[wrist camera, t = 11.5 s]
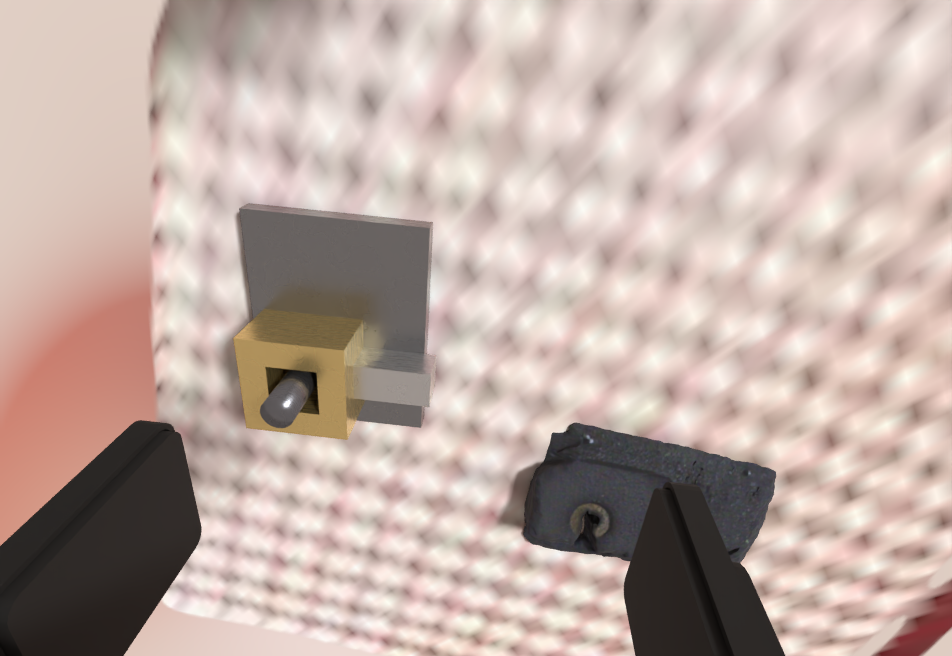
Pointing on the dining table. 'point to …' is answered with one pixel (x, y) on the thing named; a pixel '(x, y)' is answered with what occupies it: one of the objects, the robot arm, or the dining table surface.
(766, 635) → the robot arm
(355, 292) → the square hole fixture
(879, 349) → the dining table surface
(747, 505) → the dark slate chunk
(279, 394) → the grey metal peg
